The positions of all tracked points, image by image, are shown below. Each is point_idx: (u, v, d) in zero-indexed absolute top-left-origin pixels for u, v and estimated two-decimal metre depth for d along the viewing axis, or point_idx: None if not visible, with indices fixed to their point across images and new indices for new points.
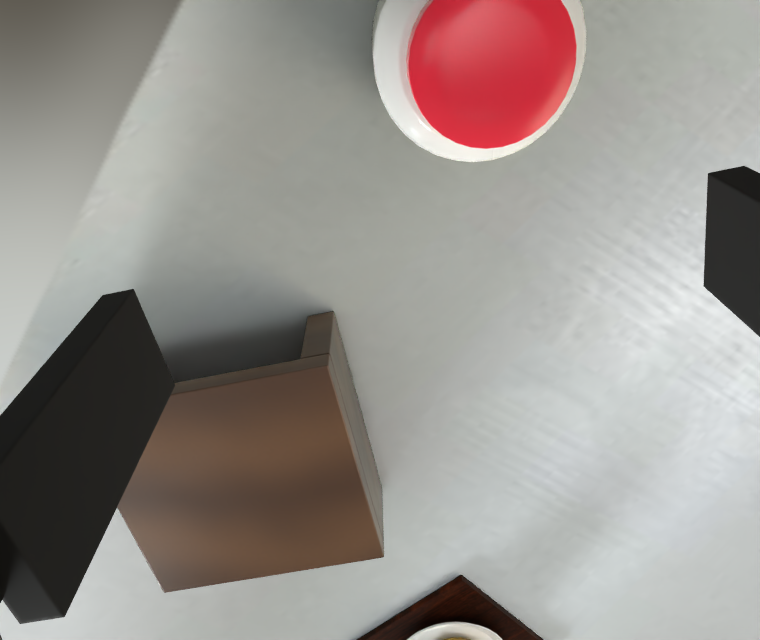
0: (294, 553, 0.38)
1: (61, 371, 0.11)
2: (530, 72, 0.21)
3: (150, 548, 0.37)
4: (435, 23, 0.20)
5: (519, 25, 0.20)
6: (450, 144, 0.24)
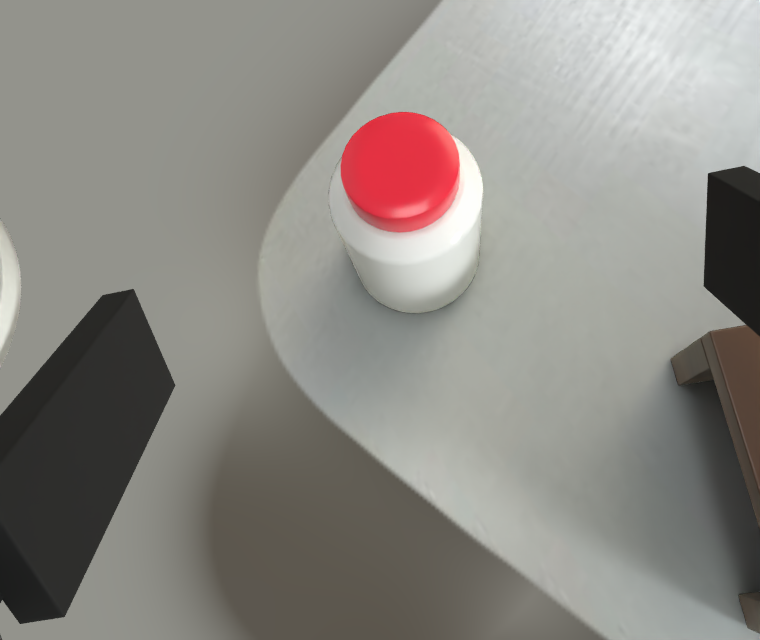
0: None
1: (61, 371, 0.11)
2: (405, 139, 0.29)
3: None
4: (370, 202, 0.28)
5: (375, 149, 0.29)
6: (464, 202, 0.30)
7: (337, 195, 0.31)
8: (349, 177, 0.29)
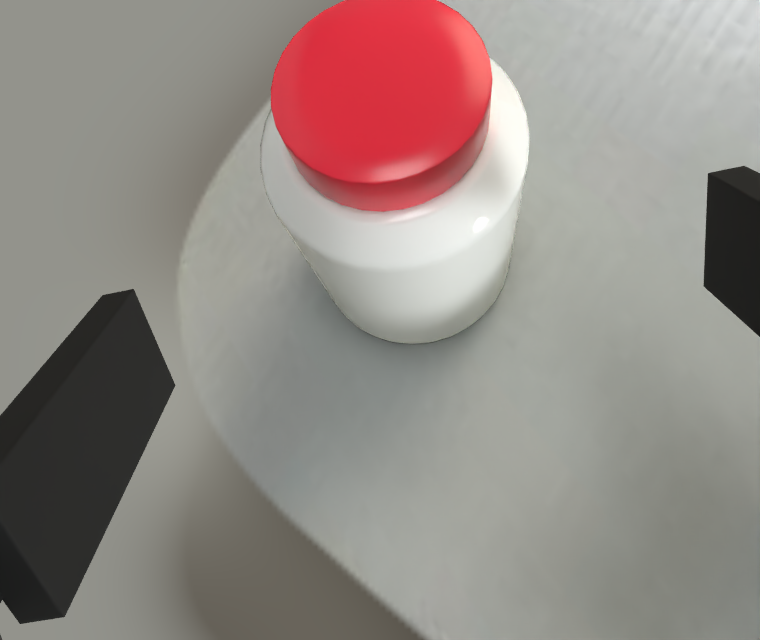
0: None
1: (61, 371, 0.11)
2: (390, 38, 0.16)
3: None
4: (325, 153, 0.15)
5: (335, 58, 0.16)
6: (499, 155, 0.17)
7: (273, 150, 0.18)
8: (286, 109, 0.16)
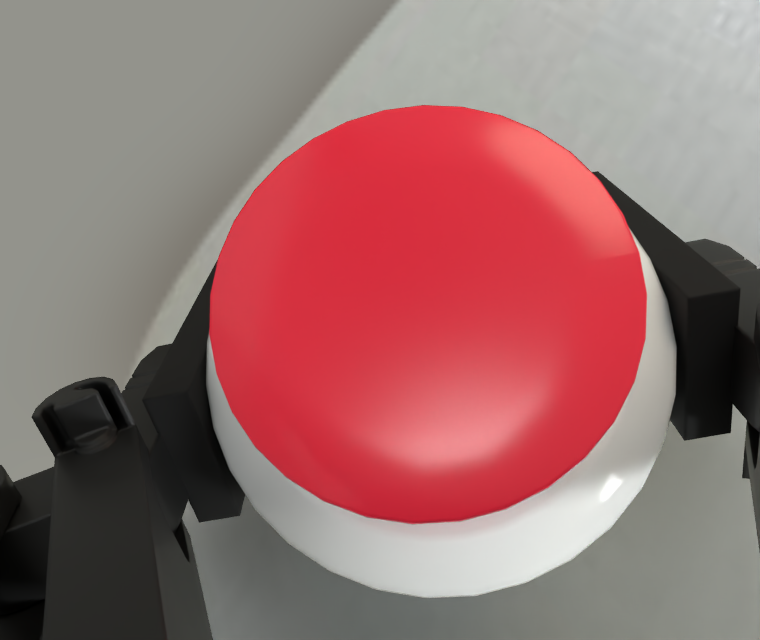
0: None
1: None
2: (439, 201, 0.08)
3: None
4: (312, 445, 0.08)
5: (333, 238, 0.08)
6: (636, 403, 0.09)
7: None
8: (238, 342, 0.08)
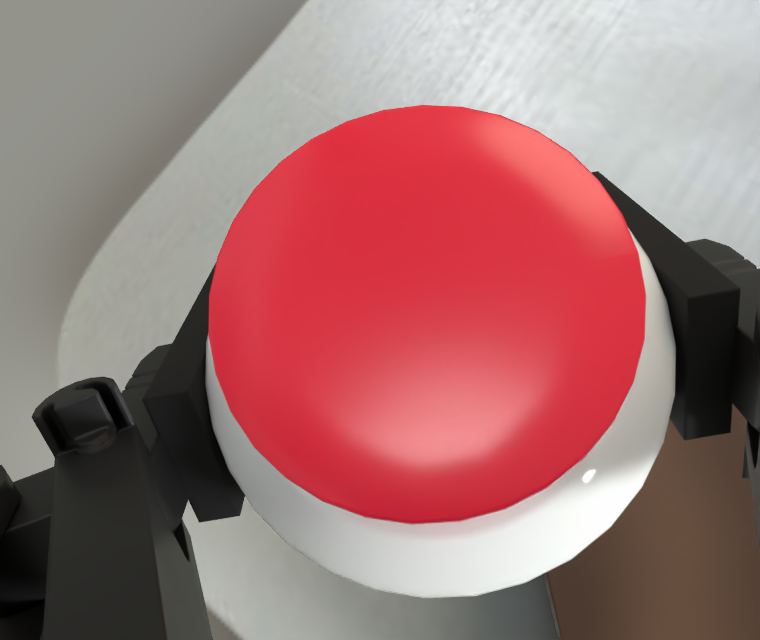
0: None
1: None
2: (438, 201, 0.08)
3: None
4: (311, 445, 0.08)
5: (332, 238, 0.08)
6: (635, 403, 0.09)
7: None
8: (237, 342, 0.08)
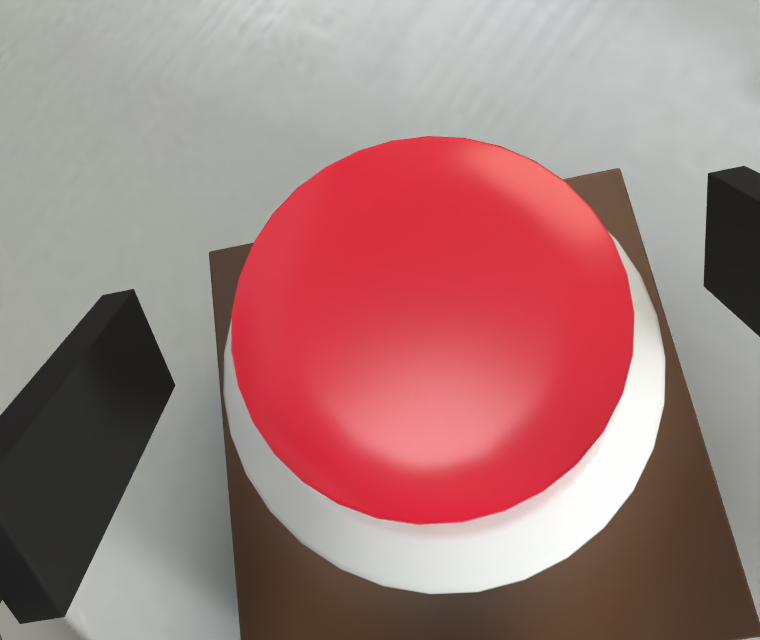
0: None
1: (61, 371, 0.11)
2: (443, 226, 0.09)
3: (608, 630, 0.17)
4: (327, 452, 0.08)
5: (344, 260, 0.09)
6: (626, 413, 0.10)
7: None
8: (258, 357, 0.09)
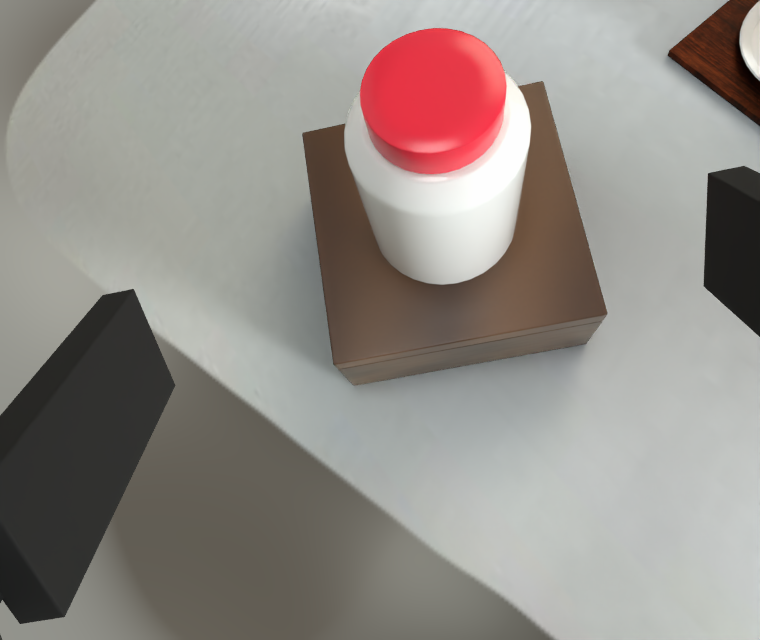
0: (536, 166, 0.34)
1: (61, 371, 0.11)
2: (439, 59, 0.24)
3: (527, 316, 0.32)
4: (397, 134, 0.23)
5: (402, 72, 0.24)
6: (511, 137, 0.25)
7: (355, 134, 0.26)
8: (371, 106, 0.24)
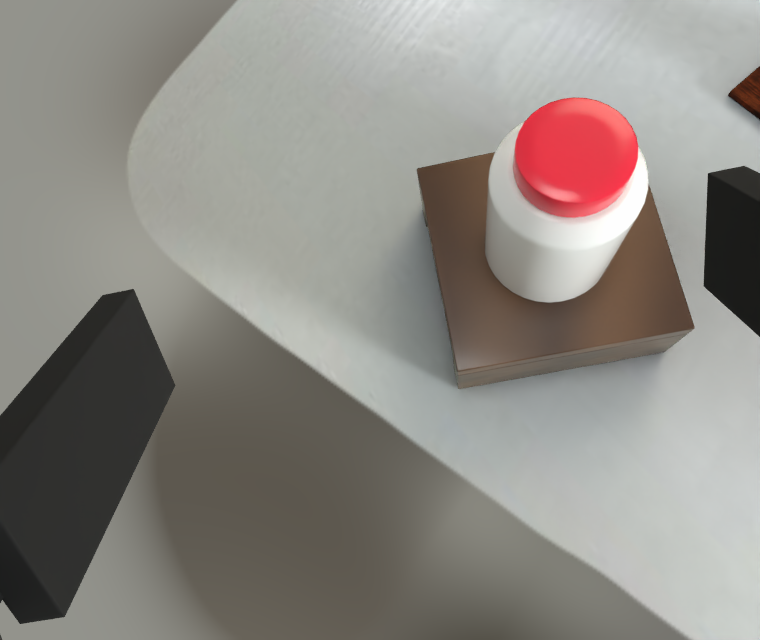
0: None
1: (61, 371, 0.11)
2: (580, 124, 0.29)
3: (625, 329, 0.37)
4: (550, 187, 0.29)
5: (550, 134, 0.29)
6: (635, 186, 0.30)
7: (502, 182, 0.31)
8: (525, 163, 0.29)
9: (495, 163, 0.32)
